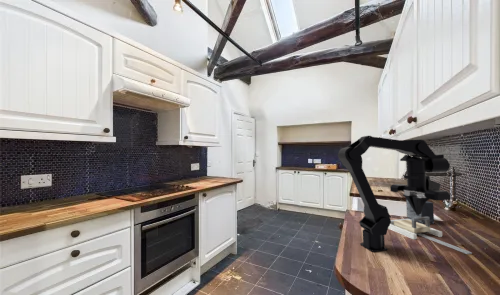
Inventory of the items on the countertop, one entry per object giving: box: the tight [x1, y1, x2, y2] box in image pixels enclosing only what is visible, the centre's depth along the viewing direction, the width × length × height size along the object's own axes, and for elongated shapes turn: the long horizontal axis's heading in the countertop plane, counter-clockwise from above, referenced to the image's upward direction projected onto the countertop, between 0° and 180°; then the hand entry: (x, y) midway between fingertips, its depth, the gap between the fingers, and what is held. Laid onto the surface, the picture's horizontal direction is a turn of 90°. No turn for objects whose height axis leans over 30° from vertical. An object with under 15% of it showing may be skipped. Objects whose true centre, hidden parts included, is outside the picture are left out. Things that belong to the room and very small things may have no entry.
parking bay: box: [388, 218, 473, 255], centre depth 85 cm, size 14×29×3 cm, turn 9°
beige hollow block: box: [394, 217, 431, 235], centre depth 92 cm, size 8×10×7 cm
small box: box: [405, 198, 435, 225], centre depth 106 cm, size 11×6×10 cm, turn 179°
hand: (418, 214), depth 77 cm, fingers closed
